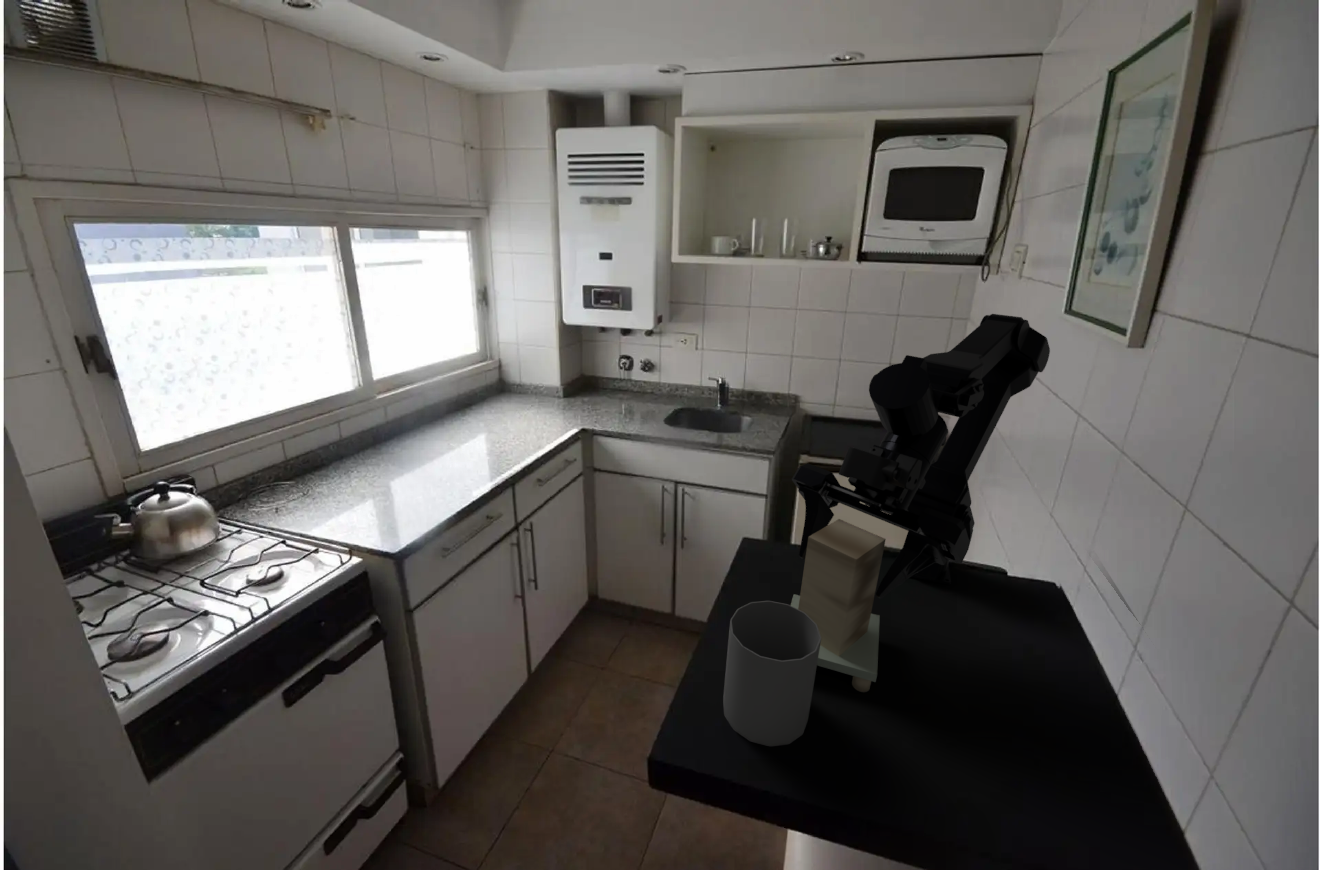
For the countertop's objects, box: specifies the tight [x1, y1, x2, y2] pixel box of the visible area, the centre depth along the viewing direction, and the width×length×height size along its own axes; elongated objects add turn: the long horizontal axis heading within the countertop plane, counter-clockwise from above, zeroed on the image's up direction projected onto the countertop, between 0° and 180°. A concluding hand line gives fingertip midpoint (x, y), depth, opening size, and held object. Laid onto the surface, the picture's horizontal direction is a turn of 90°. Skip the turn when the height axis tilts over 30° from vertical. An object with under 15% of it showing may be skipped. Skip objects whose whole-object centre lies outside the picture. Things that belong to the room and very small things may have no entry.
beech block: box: [798, 518, 886, 656], centre depth 61 cm, size 6×6×12 cm
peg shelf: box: [790, 593, 880, 693], centre depth 63 cm, size 10×10×3 cm
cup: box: [722, 600, 821, 747], centre depth 54 cm, size 8×8×10 cm
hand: (837, 576), depth 60 cm, fingers open, 9 cm apart
